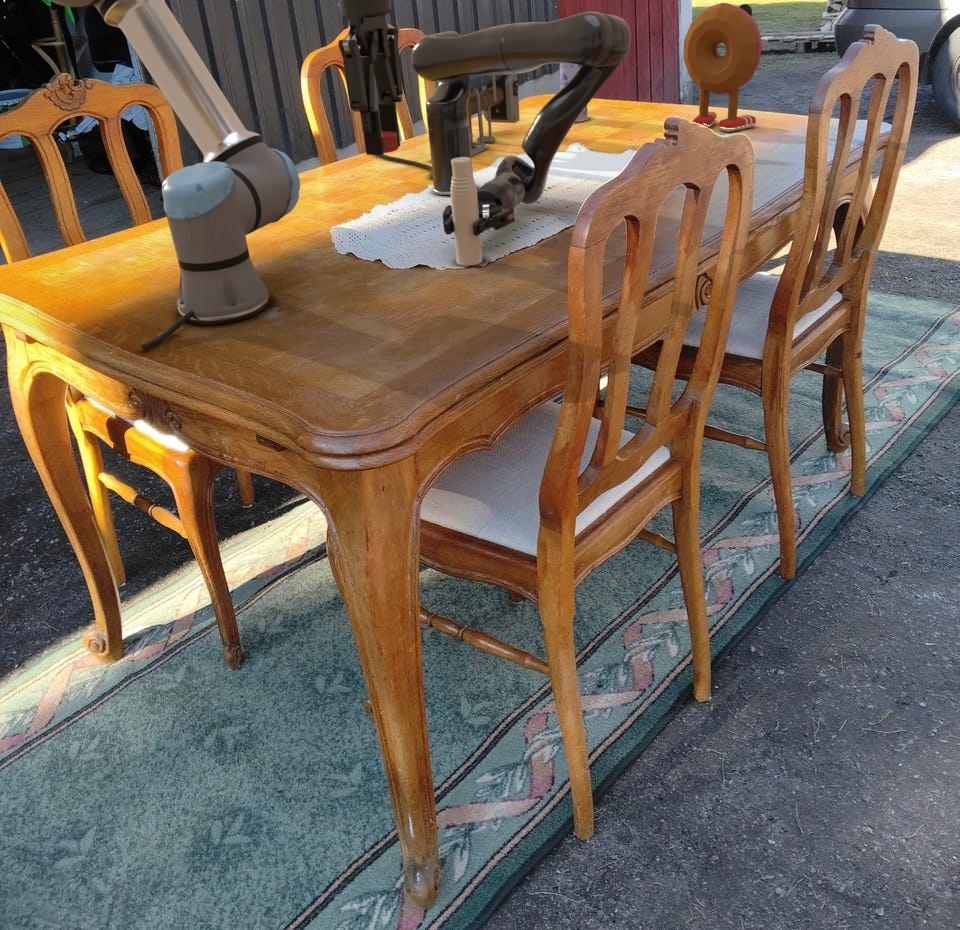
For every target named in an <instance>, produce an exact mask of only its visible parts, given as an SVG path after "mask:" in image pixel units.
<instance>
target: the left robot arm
mask: <svg viewBox="0 0 960 930" xmlns="http://www.w3.org/2000/svg"><path fill="white" fill-rule="evenodd" d="M49 2H52V3H53V4H55V5H59V6H63V7H67V8H80V7H81V8H82V7H88V6H89V7H90V6H94V7H95V8H96V10H97V11H98V13H99V14H100V16H101V18H102V19H103V21H104V22H105V23H106V24H107V25H108V26H110V27H115V28H119V29H120V30H121V32H122V33H123V35H124V36H125V37H126V39H127V41H128V42H129V44H130V46H132V48H133V50H134V51H135V53H136V54H137V56H138V57H139V59H140V61H141V62H142V63H143V65H144V67H145V68H146V69H147V71H148V73H149V74H150V76H151V77H152V79H153V80H154V82H155V84H156V86H157V87H158V88H159V90H160V91H161V93H162V94H163V96H164V97H165V99H166V101H167V102H168V103H169V105H170V107H171V108H172V110H173V111H174V113H175V114H176V116H177V117H178V119H179V120H180V122H181V124H182V125H183V126H184V128H185V129H186V131H187V132H188V134H189V136H190V137H191V139H192V140H193V142H194V143H195V145H196V146H197V148H198V149H199V151H200V153H201V154H202V156H203V161H201V162H198V163H195V164H193V165H187V166H184V167H182V168H180V169H177V170H175V171H174V172H172V173H171V174H169V175H168V176H167V177H166V178H165V179H164V181H163V183H162V186H161V193H162V199H163V210H164V213H165V215H166V219H167V223H168V226H169V230H170V231H169V232H170V235H171V238H172V242H173V247H174V250H175V254H176V258H177V262H178V266H179V283H178V294H177V310H178V314H179V318H178V320H176V321H175V322H174V323H173V324H171V326H169V327H168V328H167V329H166V330H165V331H164V332H162V333H161V334H159V335H158V336H156V337H155V338H152V339H150V340H148V341H145V342H144V343H142V344H140V345H141V346H140V347H141V349H142V350H143V351H146V350H148V349H151V348H153V347H156V346H157V345H158V344H160V343H162V342H164V341H165V340H167V338H169V337H170V336H172V335H173V333H174V332H176V331H177V330H178V329H179V328H180V327H181V326H183V325H184V324H185V323H189V324H193V325H202V326H203V325H204V326H205V325H206V326H210V325H222V324H230V323H233V322H239V321H241V320H245V319H248V318H251V317H253V316H256V315H258V314H260V312H263V311H264V310H265V309H266V308H267V307H268V306H269V305H270V296H269V292H268V290H267V287H266V284H265V283H264V282H263V280H262V278H261V276H260V274H259V272H258V270H257V269H256V267H255V265H254V264H253V262H252V260H251V257H250V251H249V246H248V241H247V235H250V234H252V233H254V232H255V231H258V230H260V229H261V228H264V227H265V226H268V225H270V224H275V223H277V222H279V221H280V220H281V219H282V218H284V217H285V216H286V215H288V214H290V213H291V212H292V211H293V210H294V209H295V207H296V206H297V204H298V202H299V198H300V190H301V181H300V176H299V172H298V170H297V167H296V165H295V164H294V162H293V160H292V159H291V158H290V156H288V154H286V153H285V152H283V151H280V150H279V149H277V148H273V147H268V146H267V143H266V142H265V140H264V139H263V137H261V135H260V133H257V132H254V131H250V130H248V129H247V128H246V127H245V125H244V124H243V123H242V121H241V120H240V118H239V116H238V115H237V113H236V112H235V110H234V108H233V107H232V105H231V104H230V102H229V101H228V99H227V97H226V96H225V94H224V93H223V91H222V90H221V88H220V86H219V84H218V83H217V82H216V80H215V79H214V77H213V76H212V74H211V72H210V70H209V69H208V68H207V66H206V64H205V62H204V61H203V59H202V58H201V56H200V55H199V53H198V52H197V50H196V49H195V47H194V46H193V44H192V42H191V41H190V40H189V38H188V36H187V34H186V33H185V31H184V30H183V28H182V26H181V25H180V24H179V22H178V21H177V19H176V17H175V15H174V14H173V12H172V10H171V9H170V8H169V6H168V4H167V3H166V1H165V0H49ZM338 3H339V10H340V11H339V12H340V16H341V18H343V19H347V21H348V31H347V32H348V35H347V37H346V38H345V39H339V40H338V48H339V51H340V53H341V57H342V63H343V70H344V75H345V76H344V77H345V82H346V89H347V90H346V91H347V95H348V96H347V97H348V104H349V108H350V110H353V112H357V113H358V112H359V114H360V121H361V129H362V132H363V139H364V147H365V154H366V155H369V156H377V155H383V154H384V155H385V153H383V145H382V137H381V131H394V132H396V133H397V138H398V146H399V148H400V147H401V139H400V131H399V123H398V122H399V121H398V111H397V103H401V102H402V100H403V94H404V88H403V78H402V70H401V69H402V67H401V60H400V50H399V35H400V34H399V33H400V32H399V31H400V30H399V28H398V27H397V26H396V27H395V26H389V25H388V21H387V19H386V16H387V15H389V14H391V12H392V1H391V0H338ZM375 82H376V85H377V89H378V93H379V98H380V102H381V103H378V104H377V105H378V109H377V110H376V109H375Z"/></svg>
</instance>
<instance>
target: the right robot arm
mask: <svg viewBox="0 0 960 930" xmlns="http://www.w3.org/2000/svg"><path fill="white" fill-rule="evenodd" d="M631 42H632V33H631V28H630V26H629V24H628V23H627V22H626V20H625V19H624V18H622V17H620V16H617V15H613V14H608V13H603V12H599V11H584V12H580V13H577V14H573V15H569V16H567V17H563V18H559V19H555V20H551V21H529V22H527V21H526V22H515V23H508V24H507V23H506V24H500V25H496V26H491V27H488V28H487V27H486V28H483V29H480V30H476V31H474V32H471V33H466V34H464V35H461V34H460V33H458V32H457V31H455V30H454V31H453V30H448V31H442V32H438V33H433V34H428V35H425V36H424V37H421V38H420V39H419V40H417V41H416V43H415V45H414V46H413V48H412V51H411V57H410V59H411V65H412V67H413V70H414V71H415V73H416V74H417V75H418V76H419V77H420V78H422V79H423V80H425V81H428V82H432V83H433V82H437V86H436V89H435V91H434V92H433V93H432V94H431V95H430V96H429V97H428V98H426V99H427V100H426V101H425V112H426V123H427V132H428V143H429V153H430V162H431V163H430V164H431V165H429V164H427V163H426V164H425V163H423V162H418V161H416V160H415V161H414V160H411V159H406V158H400V157H395V156H390V155H387V154H385V153H384V154H383V155H376V157H379V158H383V159H386V160H390V161H394V162H398V163H404V164H408V165H411V166H412V165H413V166H417V167H421V168H424V169H427V170H429V171H430V179H431V180H432V182H433V188H432V189H433V193H434V194H437V195H441V196H451V194H450V191H451V190H450V188H451V180H452V176H453V172H452V164H451V160H452V159H454V158H458V157H469V158H470V159H471V170H472V174H473V175H474V166H473V156H472V153H471V140H470V127H469V115H468V101H469V97H470V96H471V92H470V75H508V74H517V75H518V74H520V75H521V74H527V73H530V72H532V71H535V70H537V69H539V68H540V67H542V66H545V65H549V64H560V63H569V64H578V65H581V66H580V67H579V69H578V70H577V72H576V73H575V75H574V76H573V77H572V78H571V79H570V81H569V82H568V83H567V84H566V85H565V86H564V87H563V88H562V89H561V88H560V89H559V91H557V92H556V93H555V94H554V95H553V96H552V97H551V98H550V99H549V100H548V101H547V102H546V103H545V104H544V106H542V107H541V109H540V110H539V112H538V113H537V114H536V116H535V118H534V119H533V121H532V123H531V125H530V127H529V129H528V130H527V132H526V134H525V136H524V137H523V140H522V143H521V148H522V150H523V151H524V153H525V154H526V155H527V157H528V158H529V159H530V160H531V161H532V163H533V165H531V164H529V163H528V162H527V161H525V160H524V159H522V158H521V157H519V156H517V155H508V156H506V157H505V158H503V159H502V161H501V162H500V163H499V165H498V166H497V168H496V171H495V175H494V178H493V179H491V180H489V181H487V182H485V183H484V184H483V185H482V186H480V187H479V188H477V197H478V210H479V219H478V220H477V221H476V222H475V223H474V224H473V233H474V236H478V235H480V236H481V234H483V233H484V232H485V231H490V230H491V229H493V230H495V231H498V230H501V229H504V228H505V227H507V226H509V225H510V224H513V223H515V221H516V220H515V208H517V207H518V206H519V205H520V204H521V203H523V204H524V205H532V204H534V203H536V202H537V201H539V200H540V199H541V198H542V196H543V194H544V191H545V188H546V184H547V180H548V175H549V172H550V169H551V166H552V163H553V160H554V157H555V156H556V154H557V153H558V151H559V149H560V147H561V146H562V144H563V143H564V141H565V139H566V137H567V135H568V134H569V132H570V131H571V129H572V127H573V125H574V124H575V123H576V122H575V121H576V119H577V118H578V116H579V115H580V114H581V112H582V111H583V110H584V108H585V107H586V106H587V107H588V105H589V103H590V102H591V101H592V100H593V98H594V97H595V95H596V94H597V93H598V92H599V90H600V89H601V88H602V87H603V86H604V84H605V83H606V82H607V81H608V80H609V78H610V77H611V76H612V74H613V73H614V72H616V70H617V68H619V66H620V65H621V63H622V62H623V61H624V59H625V58H626V56H627V55H628V52H629V51H630V47H631ZM442 225H443V232H445V234H446V235H448V236H449V235H451V234H454V227H453V216H452V205H451V204H448V205H446V206H445V208H444V209H443V212H442Z"/></svg>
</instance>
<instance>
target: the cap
mask: <svg viewBox="0 0 960 930" xmlns="http://www.w3.org/2000/svg"><path fill="white" fill-rule="evenodd" d="M381 137H382V145H383V153H384V154H387V153H392V152H395V151H398V150H399V148H400V147H399V146H398V138H397V133H396V132H394V131H382V130H381Z"/></svg>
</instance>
